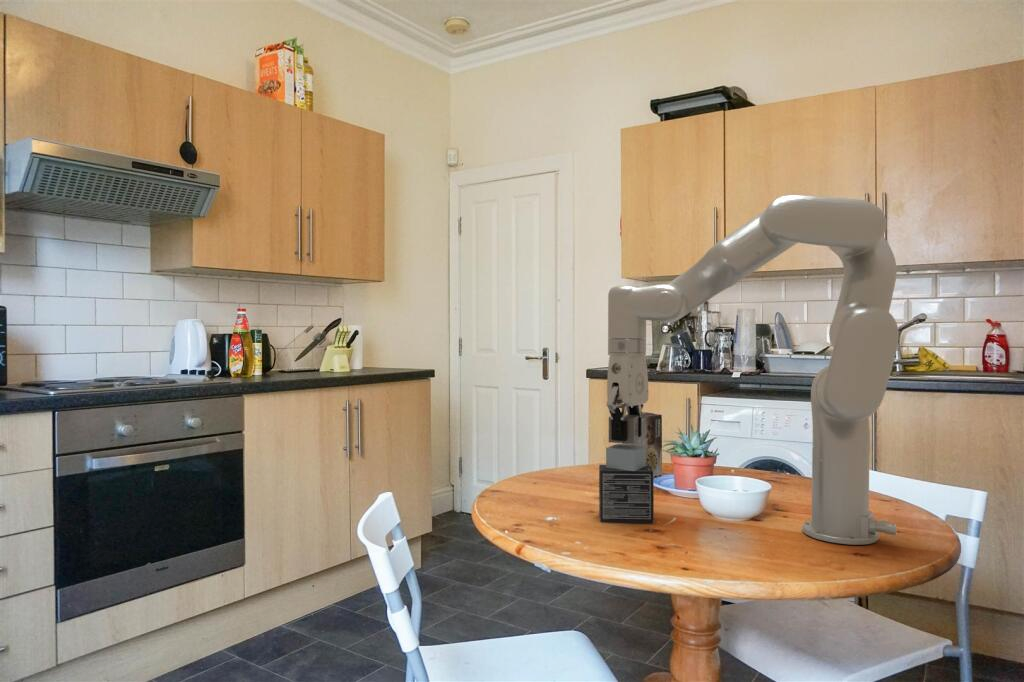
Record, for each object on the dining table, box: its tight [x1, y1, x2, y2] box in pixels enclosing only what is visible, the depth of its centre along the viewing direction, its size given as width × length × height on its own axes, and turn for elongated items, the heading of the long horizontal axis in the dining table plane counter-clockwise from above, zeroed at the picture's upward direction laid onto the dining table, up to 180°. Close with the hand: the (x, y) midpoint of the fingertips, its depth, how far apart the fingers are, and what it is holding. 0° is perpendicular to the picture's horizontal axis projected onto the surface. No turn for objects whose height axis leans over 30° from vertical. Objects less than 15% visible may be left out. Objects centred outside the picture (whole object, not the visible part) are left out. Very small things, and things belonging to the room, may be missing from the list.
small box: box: [598, 464, 655, 524], centre depth 135 cm, size 11×6×10 cm, turn 85°
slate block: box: [605, 443, 646, 471], centre depth 135 cm, size 6×6×4 cm
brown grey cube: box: [608, 414, 639, 444], centre depth 135 cm, size 5×5×5 cm
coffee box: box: [621, 411, 663, 478], centre depth 175 cm, size 9×6×16 cm
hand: (626, 437), depth 135 cm, fingers closed on brown grey cube, 5 cm apart
